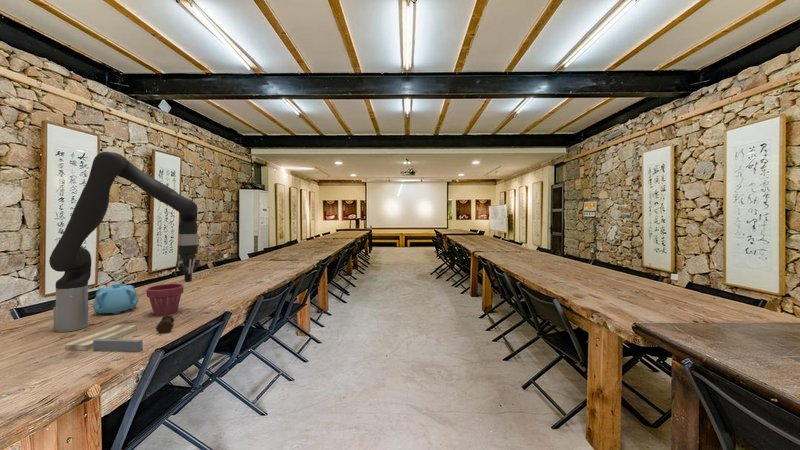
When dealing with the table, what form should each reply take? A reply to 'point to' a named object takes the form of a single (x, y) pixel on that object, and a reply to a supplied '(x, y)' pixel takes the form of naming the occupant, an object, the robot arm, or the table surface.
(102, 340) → the bar
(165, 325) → the brown dumbbell
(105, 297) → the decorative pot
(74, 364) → the table surface
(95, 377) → the table surface
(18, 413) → the table surface
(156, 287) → the plant pot
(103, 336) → the birch board
